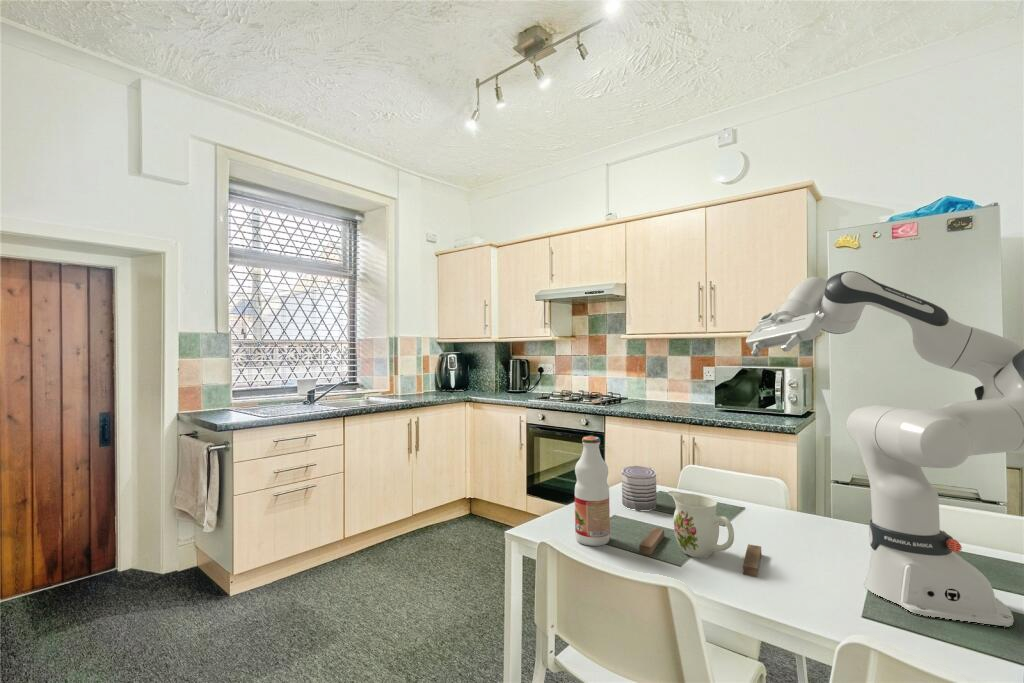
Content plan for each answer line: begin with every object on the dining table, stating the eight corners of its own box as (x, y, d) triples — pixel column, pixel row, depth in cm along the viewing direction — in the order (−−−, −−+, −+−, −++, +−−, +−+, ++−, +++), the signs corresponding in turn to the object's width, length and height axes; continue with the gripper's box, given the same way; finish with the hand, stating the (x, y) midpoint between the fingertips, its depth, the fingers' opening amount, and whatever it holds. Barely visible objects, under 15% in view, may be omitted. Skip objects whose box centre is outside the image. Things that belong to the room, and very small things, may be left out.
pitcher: (721, 572, 110) (720, 513, 110) (656, 547, 124) (655, 495, 125) (745, 560, 116) (744, 503, 117) (681, 537, 131) (680, 487, 131)
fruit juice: (604, 549, 124) (602, 441, 124) (570, 543, 128) (569, 439, 129) (614, 536, 132) (612, 436, 133) (581, 531, 136) (580, 433, 137)
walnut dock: (761, 554, 120) (761, 546, 120) (757, 577, 108) (757, 568, 108) (653, 534, 133) (653, 527, 133) (639, 552, 121) (639, 544, 121)
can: (659, 503, 161) (658, 467, 162) (654, 513, 151) (654, 475, 151) (625, 499, 166) (624, 464, 166) (618, 509, 156) (618, 472, 156)
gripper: (835, 320, 122) (813, 355, 117) (768, 335, 141) (746, 366, 135) (821, 301, 121) (798, 336, 116) (755, 319, 140) (732, 349, 135)
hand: (769, 352), depth 126 cm, fingers open, 8 cm apart
